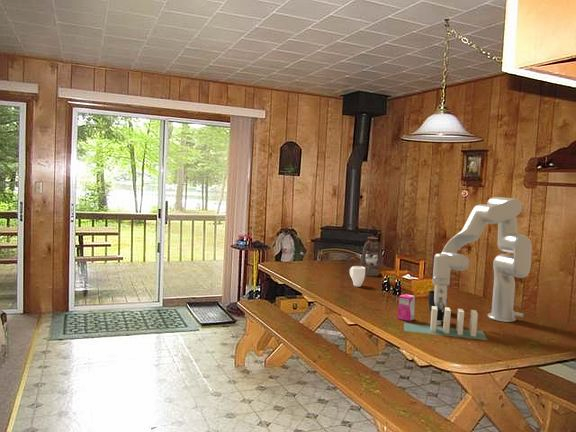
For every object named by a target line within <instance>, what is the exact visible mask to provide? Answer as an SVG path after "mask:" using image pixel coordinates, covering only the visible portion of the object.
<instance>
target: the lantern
mask: <svg viewBox="0 0 576 432" xmlns="http://www.w3.org/2000/svg"><path fill="white" fill-rule="evenodd" d="M371 225H372V223H370V224H369V225H368V228H367V231H369V229H370V226H371ZM376 226H377V227H379V225H378V224H376ZM377 233H379V228H377ZM378 235H379V234H377V235H375V236H373V235H371V236H370V235H369V234H367V236H368V237H367V239H368V240H367V241H366V242H365V243H364V245H363V249H362V253H361V254H362V255H361V258H360V259H361V260H360V266H362V267H365V277H378V276H379V274H380V273H379V269H380V268H381V267H382V247H381V243H380V242H379V241H378V239H379V238H378Z"/></svg>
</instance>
